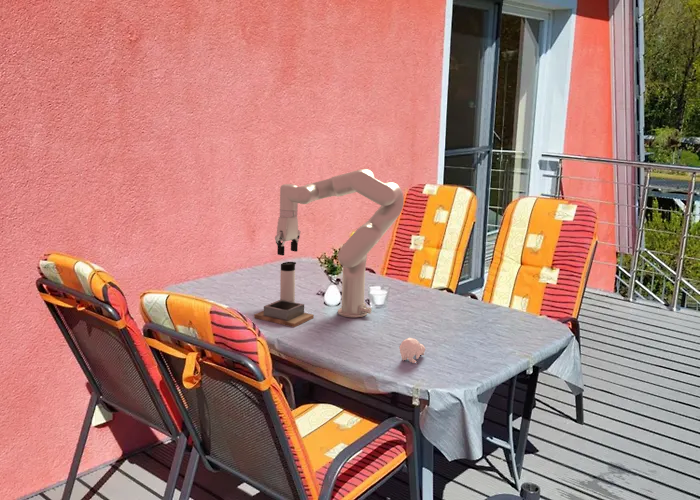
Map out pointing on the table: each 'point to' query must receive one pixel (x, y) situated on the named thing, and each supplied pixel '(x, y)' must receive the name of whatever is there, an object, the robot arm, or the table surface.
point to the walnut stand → (292, 322)
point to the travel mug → (287, 281)
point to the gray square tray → (283, 310)
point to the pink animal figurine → (411, 349)
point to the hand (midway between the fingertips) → (287, 253)
